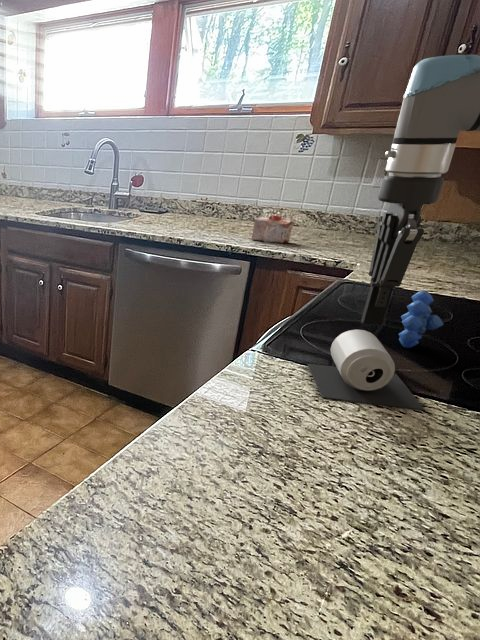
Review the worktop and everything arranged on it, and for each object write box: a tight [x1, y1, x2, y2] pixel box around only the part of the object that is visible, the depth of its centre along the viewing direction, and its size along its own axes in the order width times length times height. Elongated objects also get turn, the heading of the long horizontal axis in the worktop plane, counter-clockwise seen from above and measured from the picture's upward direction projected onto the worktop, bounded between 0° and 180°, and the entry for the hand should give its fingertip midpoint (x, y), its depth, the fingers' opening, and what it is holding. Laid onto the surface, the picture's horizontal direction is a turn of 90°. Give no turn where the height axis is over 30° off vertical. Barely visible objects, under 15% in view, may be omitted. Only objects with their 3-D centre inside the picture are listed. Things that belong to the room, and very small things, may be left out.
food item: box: [250, 214, 295, 244], centre depth 201 cm, size 14×8×10 cm, turn 41°
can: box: [329, 329, 396, 391], centre depth 90 cm, size 8×8×12 cm
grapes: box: [398, 290, 444, 349], centre depth 102 cm, size 12×7×12 cm, turn 136°
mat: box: [306, 363, 426, 412], centre depth 89 cm, size 14×14×1 cm
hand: (371, 323), depth 88 cm, fingers closed
